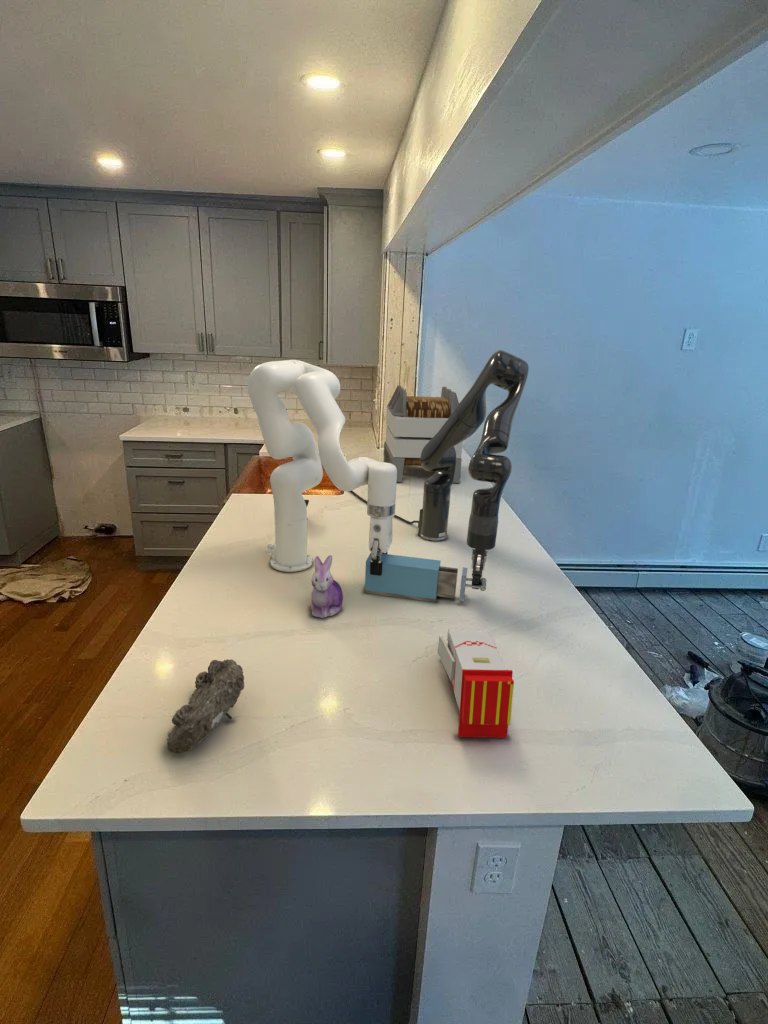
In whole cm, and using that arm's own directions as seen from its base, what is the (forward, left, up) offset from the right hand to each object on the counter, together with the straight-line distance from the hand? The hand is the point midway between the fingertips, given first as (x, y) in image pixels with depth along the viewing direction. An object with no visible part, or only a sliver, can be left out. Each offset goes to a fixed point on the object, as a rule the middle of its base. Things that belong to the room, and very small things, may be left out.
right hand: (475, 587), depth 154 cm
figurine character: (-76, +11, -4) cm, 77 cm away
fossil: (-18, -74, -4) cm, 76 cm away
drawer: (-8, -4, -3) cm, 10 cm away
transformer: (-80, +99, -4) cm, 127 cm away
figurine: (-28, -29, -4) cm, 41 cm away
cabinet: (-18, -8, -4) cm, 21 cm away
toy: (+17, -36, -4) cm, 40 cm away
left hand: (-25, -11, +2) cm, 27 cm away
